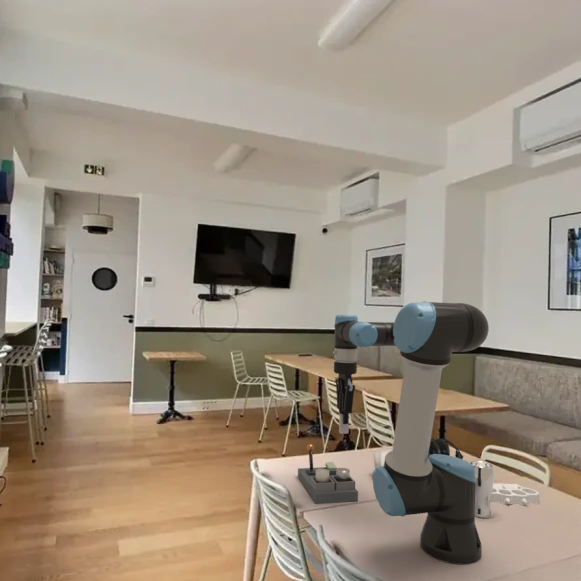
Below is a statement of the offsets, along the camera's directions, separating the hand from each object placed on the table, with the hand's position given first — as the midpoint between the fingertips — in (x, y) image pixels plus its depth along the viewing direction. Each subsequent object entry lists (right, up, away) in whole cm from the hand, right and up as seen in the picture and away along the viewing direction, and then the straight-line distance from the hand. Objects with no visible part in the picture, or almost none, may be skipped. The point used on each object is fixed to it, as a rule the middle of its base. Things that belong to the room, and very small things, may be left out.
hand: (343, 433), depth 160 cm
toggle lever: (-10, -17, +11) cm, 22 cm away
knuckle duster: (+55, -23, +1) cm, 59 cm away
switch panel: (-5, -20, +5) cm, 22 cm away
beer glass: (+40, -21, -12) cm, 47 cm away
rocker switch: (-3, -17, +12) cm, 21 cm away
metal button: (0, -15, 0) cm, 15 cm away
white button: (-7, -15, -2) cm, 17 cm away
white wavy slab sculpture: (+23, -22, +8) cm, 32 cm away
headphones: (+42, -23, +33) cm, 59 cm away
